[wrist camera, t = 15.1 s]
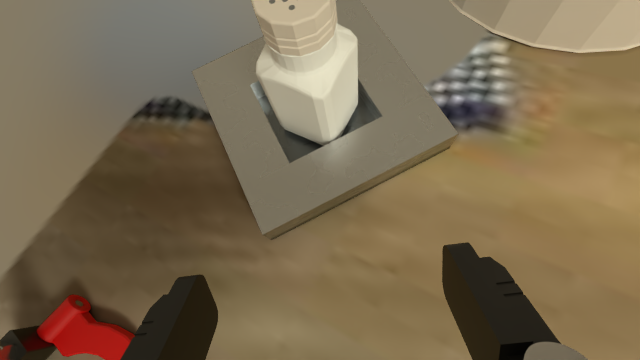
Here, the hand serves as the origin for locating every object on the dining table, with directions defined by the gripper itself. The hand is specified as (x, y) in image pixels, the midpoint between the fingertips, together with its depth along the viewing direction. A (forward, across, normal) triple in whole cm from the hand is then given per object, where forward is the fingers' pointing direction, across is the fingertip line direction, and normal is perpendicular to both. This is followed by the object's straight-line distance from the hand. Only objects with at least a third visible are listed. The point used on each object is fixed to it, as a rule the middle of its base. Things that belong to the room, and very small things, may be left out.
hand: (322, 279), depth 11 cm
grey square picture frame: (+13, 0, -2) cm, 13 cm away
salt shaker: (+13, 0, -2) cm, 13 cm away
